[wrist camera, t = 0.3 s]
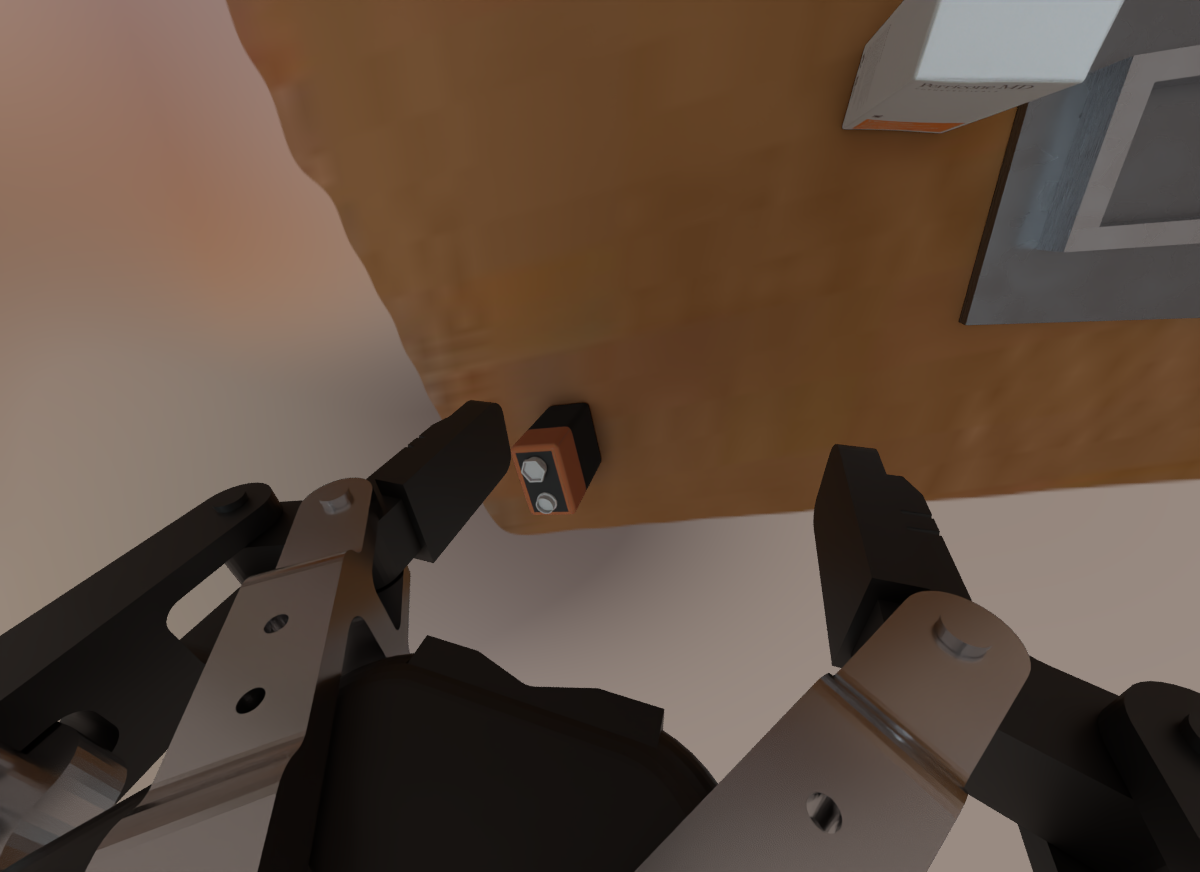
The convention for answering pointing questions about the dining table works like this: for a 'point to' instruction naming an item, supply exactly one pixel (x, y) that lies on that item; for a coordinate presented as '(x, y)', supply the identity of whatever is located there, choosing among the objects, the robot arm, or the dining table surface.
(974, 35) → the skincare box
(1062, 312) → the grey box holder
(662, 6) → the dining table surface
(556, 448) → the battery
